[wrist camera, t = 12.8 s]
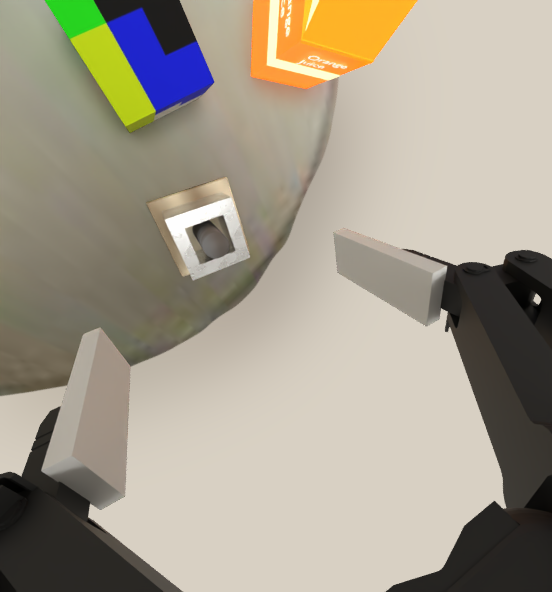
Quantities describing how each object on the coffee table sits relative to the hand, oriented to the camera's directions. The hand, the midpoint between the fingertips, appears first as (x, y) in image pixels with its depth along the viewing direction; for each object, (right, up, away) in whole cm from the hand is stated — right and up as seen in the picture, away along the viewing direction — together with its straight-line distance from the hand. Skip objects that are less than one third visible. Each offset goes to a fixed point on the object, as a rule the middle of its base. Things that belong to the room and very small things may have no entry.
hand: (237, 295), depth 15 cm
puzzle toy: (-14, +27, +17) cm, 35 cm away
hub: (-9, +10, +27) cm, 30 cm away
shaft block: (-10, +11, +28) cm, 32 cm away
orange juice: (+3, +34, +22) cm, 41 cm away
